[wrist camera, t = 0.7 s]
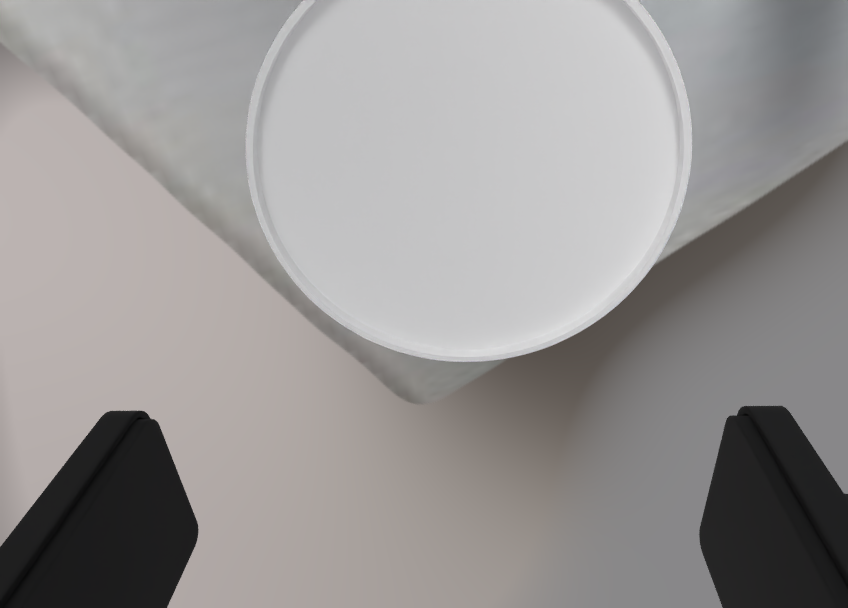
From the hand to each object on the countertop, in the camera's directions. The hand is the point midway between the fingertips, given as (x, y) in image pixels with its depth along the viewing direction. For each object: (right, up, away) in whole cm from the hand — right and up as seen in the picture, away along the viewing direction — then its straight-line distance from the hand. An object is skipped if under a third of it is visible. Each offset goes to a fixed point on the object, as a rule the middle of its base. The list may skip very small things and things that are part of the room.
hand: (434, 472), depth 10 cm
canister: (+2, +17, +26) cm, 31 cm away
